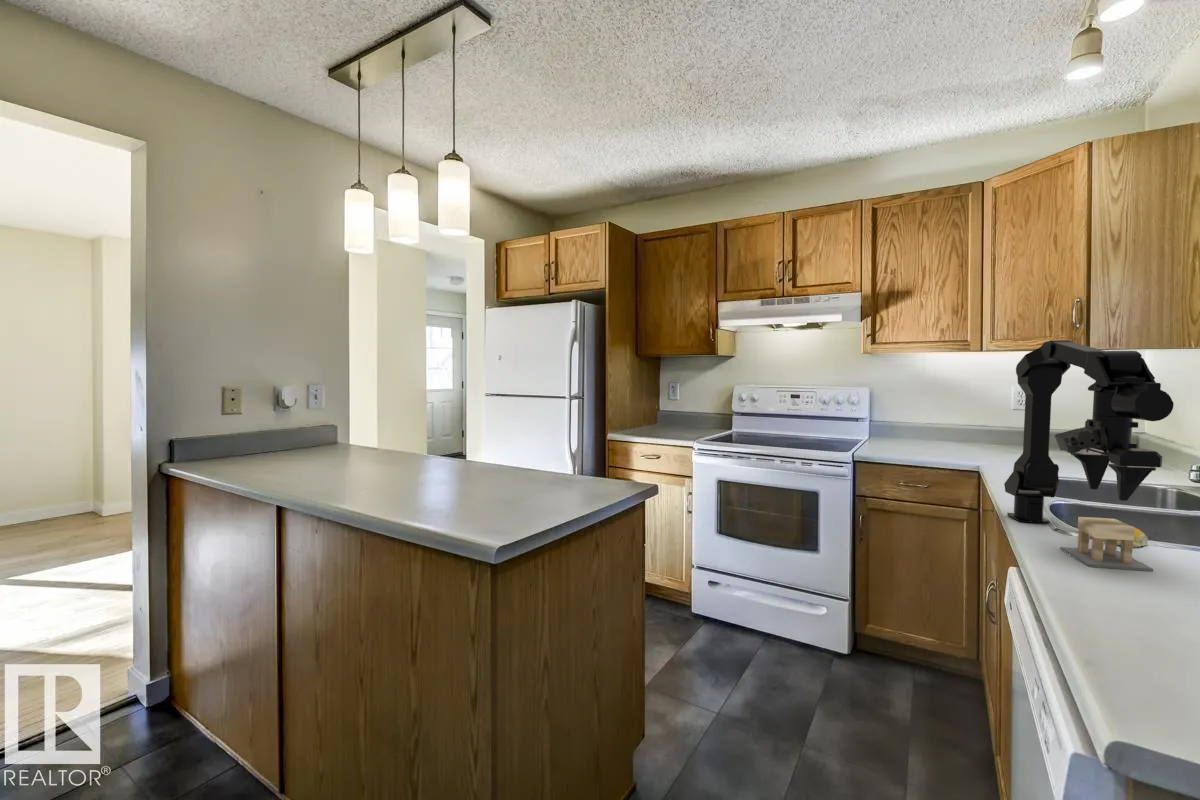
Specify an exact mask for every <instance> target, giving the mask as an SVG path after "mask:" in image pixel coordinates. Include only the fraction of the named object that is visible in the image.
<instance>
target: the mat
mask: <svg viewBox="0 0 1200 800" xmlns="http://www.w3.org/2000/svg"><path fill="white" fill-rule="evenodd" d="M1060 549H1061V550H1060ZM1059 550H1060V551H1062V550H1063V551H1062V552H1064V551H1065V552H1066V553H1065V552H1064V553H1065V554H1067V553H1068V554H1067V555H1069V554H1070V555H1071V556H1070V555H1069V556H1070V557H1072V556H1073V557H1075V558H1077V559H1078V560H1080V561H1081V562H1080V561H1079V562H1080V563H1082V564H1083V563H1084V564H1083V565H1085V564H1086V565H1085V566H1087V567H1088V566H1091V567H1090V568H1100V567H1103V569H1104V568H1105V569H1114V570H1115V569H1116V570H1129V571H1141V570H1142V571H1143V572H1154V568H1153V567H1151V566H1150V565H1147V564H1145V563H1143V562H1141V561H1139V560H1137V559H1135V558H1133V557H1132V564H1131V563H1123V562H1121V561H1120V550H1116V555H1108V554H1106V553H1105V549H1103V561H1094V560H1093V559H1091V553H1092V548H1088V553H1080V552H1079V551H1078V547H1068V546H1065V547H1064V546H1059ZM1073 557H1072V558H1073ZM1075 558H1074V559H1075ZM1077 559H1076V560H1077ZM1078 560H1077V561H1078Z"/></svg>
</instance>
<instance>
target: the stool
mask: <svg viewBox="0 0 1200 800" xmlns="http://www.w3.org/2000/svg"><path fill="white" fill-rule="evenodd" d="M1134 527H1135V526H1133V527H1132V525H1130V524H1127V523H1124V522H1123V521H1121V520H1118V519H1116V518H1106V517H1105V518H1104V517H1087V516H1078V519H1077V530H1078V535H1077V537H1078V538H1077V548H1078V551H1079V552H1080V553H1088V549H1089V544H1090V537H1091V536H1092V537H1091V549H1092V553H1091V559H1093V560H1094V561H1103V550H1105V553H1106V554H1108V555H1116V551H1117V547H1118V546H1117V540H1121V546H1120V550H1119V551H1120V561H1121V562H1123V563H1131V564H1132V558H1133V541H1134V532H1135V528H1136V527H1135V528H1134ZM1090 535H1091V536H1090ZM1104 539H1106V541H1105V543H1103V542H1104ZM1104 544H1105V545H1104ZM1104 546H1105V547H1104Z"/></svg>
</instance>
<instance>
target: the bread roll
mask: <svg viewBox="0 0 1200 800" xmlns="http://www.w3.org/2000/svg"><path fill="white" fill-rule="evenodd" d="M1131 526H1132V525H1131ZM1132 527H1134V528H1135V532H1134V541H1133V547H1139V548H1142V547H1141V546H1144V547H1145V546H1146V545H1148V541H1149V538H1148V536H1146V534H1145V533H1144V532H1143V531H1142V530H1140V529H1138V528H1137V527H1135V526H1132ZM1089 537H1090V538H1092V536H1091V535H1089ZM1105 541H1106V539H1104V542H1105ZM1145 544H1146V545H1145ZM1117 545H1121V540H1117Z"/></svg>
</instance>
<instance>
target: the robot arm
mask: <svg viewBox="0 0 1200 800" xmlns="http://www.w3.org/2000/svg"><path fill="white" fill-rule="evenodd" d="M1020 359H1021V360H1020V361H1019V362H1018V363H1017V364H1016V365H1015V366H1016V367H1015V375H1016V376H1017V384H1018V385H1019V388H1020V389H1021V390H1022V392H1024V394H1025V397H1024V399H1025V401H1024V402H1025V404H1024V419H1023V420H1024V422H1023V423H1024V425H1023V445H1022V446H1023V448H1022V453H1021V455H1020V456H1019V457H1018V458H1017V460H1016V461H1015V462H1014V463H1013V469H1012V470H1013V471H1012V473H1010V475H1009V477H1007V479H1006V481H1005V482H1004V484H1003V485H1004V492H1005V493H1008V494H1009V495H1011V496H1013V497H1014V498H1013V500H1014V501H1013V512H1007V516H1009V517H1011V518H1012V519H1014V520H1016V521H1017V522H1020V523H1021V522H1023V523H1034V524H1035V523H1036V524H1037V523H1038V524H1039V523H1040V524H1050V523H1051V521H1050V520H1048V519H1046V518H1044V509H1045V508H1044V506H1045V505H1044V504H1045V503H1044V501H1045V498H1046V497H1047V498H1055V497H1056V493H1057V489H1058V486H1059V482H1060V479H1059V471H1060V467H1059V465H1058V464H1057V463H1055V462H1053V460H1052V458H1051V457H1050V437H1051V413H1052V412H1051V411H1052V397H1053V394H1054V393H1055V392H1056V391H1057V389H1058V388H1059V387H1060V386H1061V384H1062V379H1063V375H1064V374H1065V373H1066V372H1068V370H1069V369H1071V365H1072V366H1075V367H1078V368H1082V369H1083V370H1084V371H1083V373H1084V375H1085V376H1087V377H1089V378H1090V379H1092V380H1094V381H1095V382H1093V383H1092V384H1090V385H1089V386H1088V387H1087V390H1088V391H1089V392H1093V403H1092V418H1088V419H1087V418H1086V420H1085V422H1084V427H1079V428H1074V429H1071V430H1067V431H1063V432H1060V433H1057V434H1055V435H1054V438H1055V440H1056V443H1057V445H1058V448H1059V450H1060V451H1064V452H1067V453H1068V454H1070V455H1071V456H1073V457H1074V458H1076V459H1077V460H1078V461H1079V462H1080V463H1081V466H1082V468H1083V471H1084V475H1085V478H1086V481H1087V483H1088V486H1089V489H1091V490H1098V489H1099V487H1100V485H1101V483H1102V480H1103V478H1104V475H1105V472H1106V471H1107V469H1108V466H1109V468H1110V469H1112V471H1114V472H1115V474H1116V476H1115V477H1116V485H1117V486H1116V488H1117V495H1118V500H1120V501H1124V502H1126V501H1128V500H1129V499H1130V498H1131V496H1132V495H1133V494H1134V493H1135V491H1136V490H1137V488H1139V486H1140V485H1141V483H1142V482H1143V481H1144V480H1145V479H1146V478H1147V477H1148V476H1149V475H1150V474H1151V473H1152V472H1155V471H1157V470H1156V469H1157V468H1162V466H1163V456H1162V455H1161V454H1160V453H1159V452H1158V451H1156V450H1151V449H1147V448H1139V447H1138V443H1134V442H1132V435H1133V433H1132V432H1133V428H1135V429H1137V428H1139V422H1138V421H1134V420H1133V419H1135V420H1141V421H1147V422H1159V421H1161V420H1165V419H1166V418H1167V417H1169V415H1170V414H1171V413H1172V411H1173V409H1174V401H1173V400H1172V397H1171V396H1170V395H1169V393H1168V392H1166V391H1164V390H1162V389H1161V387H1162V386H1161V385H1162V384H1161V383H1160V382H1156V381H1155V378H1156V377H1155V376H1154V374H1153V373H1152V372H1151V371H1150V368H1149V366H1148V364H1147V363H1146V361H1145V359H1144V358H1143V357H1142V354H1141V353H1140V352H1138V351H1137V350H1104V349H1099V348H1096V347H1092V346H1089V345H1088V346H1087V345H1084V344H1080V343H1077V342H1074V341H1071V340H1069V339H1063V340H1061V339H1060V340H1059V339H1057V340H1054V339H1053V340H1049V339H1048V341H1045V342H1043V343H1042V344H1041V346H1040V347H1038V348H1036V349H1034V350H1032V351H1030V352H1028V353H1026V354H1025V355H1024V356H1023V357H1022V358H1020Z"/></svg>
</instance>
